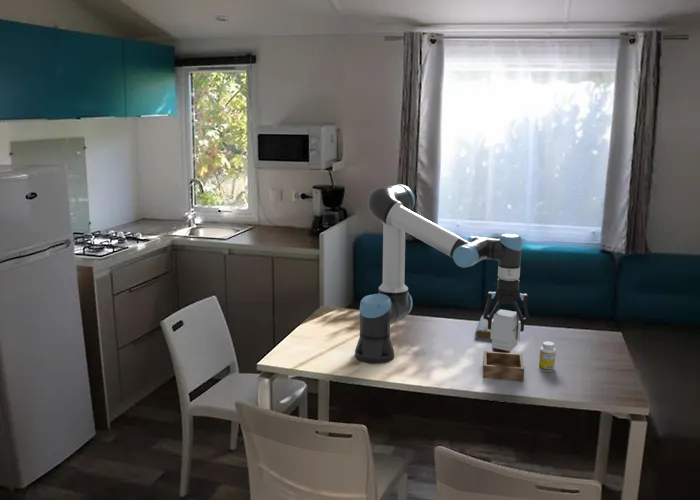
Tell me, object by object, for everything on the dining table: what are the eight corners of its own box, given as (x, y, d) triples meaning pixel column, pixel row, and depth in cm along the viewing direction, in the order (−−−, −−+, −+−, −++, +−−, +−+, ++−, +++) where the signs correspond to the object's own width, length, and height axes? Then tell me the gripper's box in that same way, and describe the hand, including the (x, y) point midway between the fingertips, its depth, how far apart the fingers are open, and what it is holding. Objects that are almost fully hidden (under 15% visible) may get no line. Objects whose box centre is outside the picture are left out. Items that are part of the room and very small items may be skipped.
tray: (483, 378, 236) (483, 365, 235) (482, 363, 249) (483, 351, 248) (523, 381, 233) (524, 368, 232) (521, 366, 246) (522, 354, 245)
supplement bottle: (543, 365, 248) (545, 339, 245) (557, 369, 244) (559, 343, 241) (535, 369, 244) (537, 343, 242) (549, 373, 240) (551, 347, 238)
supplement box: (511, 351, 234) (513, 317, 231) (491, 347, 237) (492, 314, 235) (517, 345, 240) (519, 311, 237) (498, 341, 244) (499, 308, 241)
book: (480, 323, 294) (481, 312, 293) (518, 327, 290) (519, 316, 288) (474, 339, 275) (475, 327, 274) (515, 343, 270) (516, 332, 269)
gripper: (477, 279, 231) (474, 340, 236) (541, 282, 227) (536, 344, 232) (477, 273, 239) (474, 333, 244) (539, 277, 235) (535, 337, 240)
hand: (505, 338), depth 238 cm, fingers closed on supplement box, 9 cm apart
